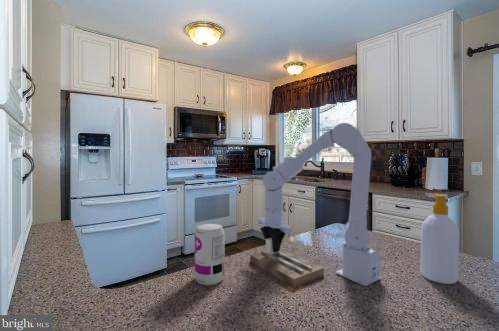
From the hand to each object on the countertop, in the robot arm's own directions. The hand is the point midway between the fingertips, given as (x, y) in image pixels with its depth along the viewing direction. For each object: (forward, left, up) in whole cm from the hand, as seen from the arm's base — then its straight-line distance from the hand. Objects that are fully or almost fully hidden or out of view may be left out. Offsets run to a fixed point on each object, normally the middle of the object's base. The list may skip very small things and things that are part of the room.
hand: (273, 250), depth 84 cm
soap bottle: (-35, -33, -4) cm, 48 cm away
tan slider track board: (-6, 0, -4) cm, 7 cm away
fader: (0, 0, -1) cm, 1 cm away
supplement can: (+1, +22, -4) cm, 22 cm away
